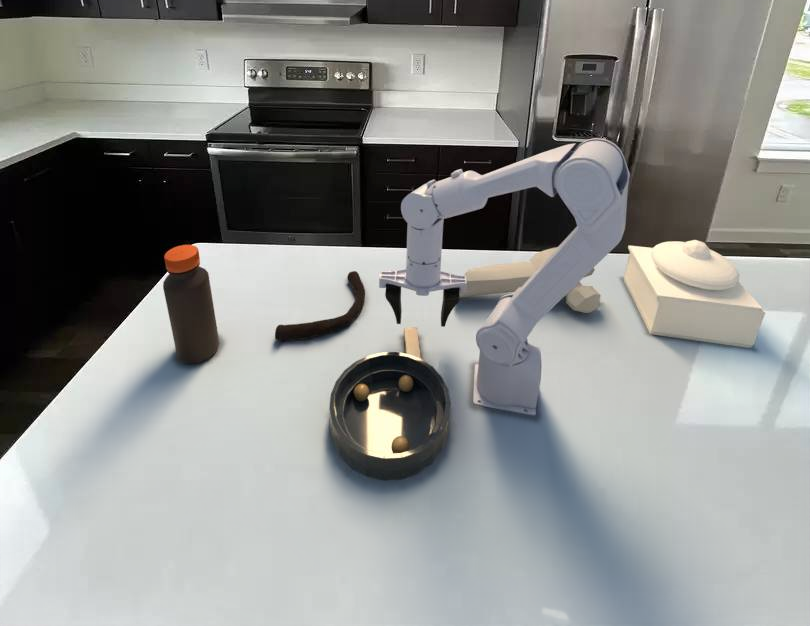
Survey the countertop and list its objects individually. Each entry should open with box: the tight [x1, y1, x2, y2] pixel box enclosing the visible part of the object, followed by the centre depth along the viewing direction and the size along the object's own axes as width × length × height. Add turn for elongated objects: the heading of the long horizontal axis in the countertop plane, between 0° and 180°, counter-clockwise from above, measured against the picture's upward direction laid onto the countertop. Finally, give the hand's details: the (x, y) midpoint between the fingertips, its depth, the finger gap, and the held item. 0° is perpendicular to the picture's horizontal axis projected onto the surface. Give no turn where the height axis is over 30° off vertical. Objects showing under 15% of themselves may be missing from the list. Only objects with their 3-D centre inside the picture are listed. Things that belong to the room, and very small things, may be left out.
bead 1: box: [354, 384, 369, 401], centre depth 66 cm, size 2×2×2 cm
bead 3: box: [391, 436, 409, 453], centre depth 58 cm, size 2×2×2 cm
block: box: [403, 327, 422, 359], centre depth 75 cm, size 8×2×2 cm, turn 4°
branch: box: [274, 270, 366, 342], centre depth 84 cm, size 23×10×3 cm, turn 147°
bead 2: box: [398, 375, 414, 392], centre depth 68 cm, size 2×2×2 cm
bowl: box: [328, 351, 452, 481], centre depth 63 cm, size 17×17×4 cm
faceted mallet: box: [459, 246, 601, 314], centre depth 89 cm, size 30×14×11 cm, turn 88°
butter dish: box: [623, 239, 766, 349], centre depth 86 cm, size 18×18×16 cm
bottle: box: [162, 244, 220, 365], centre depth 72 cm, size 7×7×20 cm
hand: (420, 321), depth 74 cm, fingers open, 7 cm apart
